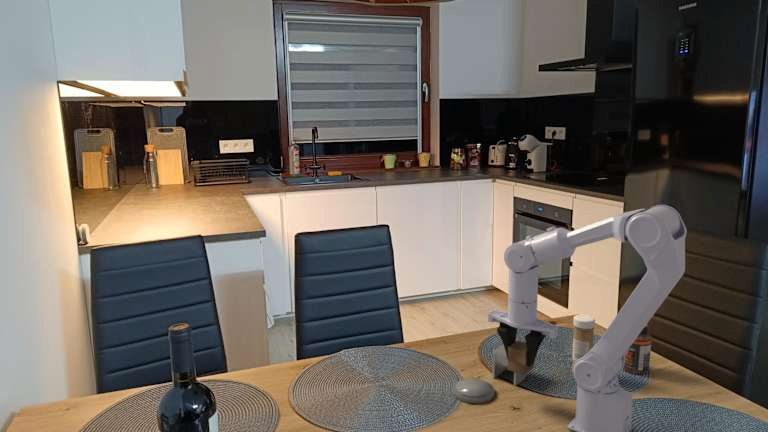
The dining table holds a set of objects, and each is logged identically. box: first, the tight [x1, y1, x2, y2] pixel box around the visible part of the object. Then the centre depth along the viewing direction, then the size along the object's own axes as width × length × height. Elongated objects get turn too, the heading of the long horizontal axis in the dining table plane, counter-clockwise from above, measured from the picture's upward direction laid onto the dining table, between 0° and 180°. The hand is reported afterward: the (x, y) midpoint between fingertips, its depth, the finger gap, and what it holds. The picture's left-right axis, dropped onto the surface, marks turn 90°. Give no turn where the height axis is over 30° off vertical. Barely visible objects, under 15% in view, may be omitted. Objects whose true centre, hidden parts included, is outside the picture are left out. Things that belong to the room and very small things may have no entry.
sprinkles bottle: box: [571, 314, 596, 373], centre depth 122 cm, size 5×5×14 cm
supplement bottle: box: [622, 323, 652, 375], centre depth 124 cm, size 6×6×11 cm
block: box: [506, 339, 535, 375], centre depth 111 cm, size 4×4×5 cm
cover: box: [491, 343, 531, 387], centre depth 122 cm, size 6×7×6 cm
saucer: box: [451, 378, 495, 405], centre depth 116 cm, size 9×9×1 cm
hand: (520, 361), depth 111 cm, fingers closed on block, 4 cm apart
